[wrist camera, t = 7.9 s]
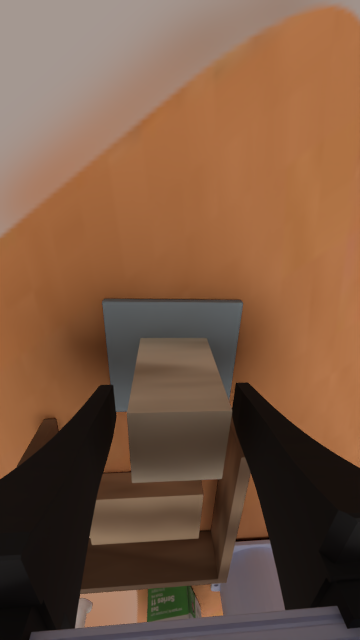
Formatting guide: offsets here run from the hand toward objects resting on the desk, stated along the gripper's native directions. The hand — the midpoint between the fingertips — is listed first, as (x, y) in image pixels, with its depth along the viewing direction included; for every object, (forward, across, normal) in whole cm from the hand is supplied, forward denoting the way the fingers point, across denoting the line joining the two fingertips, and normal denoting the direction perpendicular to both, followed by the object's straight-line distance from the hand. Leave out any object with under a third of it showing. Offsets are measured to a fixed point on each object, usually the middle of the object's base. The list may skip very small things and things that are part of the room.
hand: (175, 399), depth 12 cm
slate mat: (+4, 0, 0) cm, 4 cm away
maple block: (+3, 0, 0) cm, 3 cm away
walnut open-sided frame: (+4, +2, +13) cm, 14 cm away
